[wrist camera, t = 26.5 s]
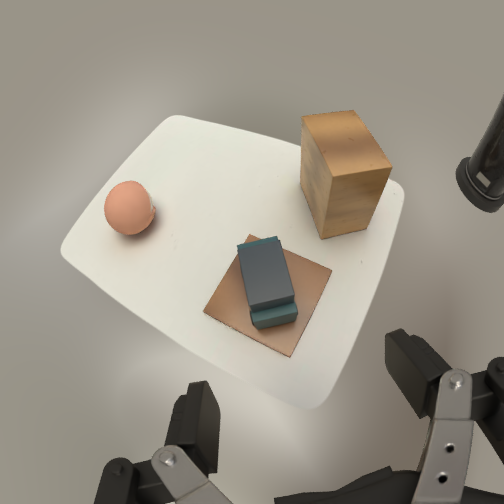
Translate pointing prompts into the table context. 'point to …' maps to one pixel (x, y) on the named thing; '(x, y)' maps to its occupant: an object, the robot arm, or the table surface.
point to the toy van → (267, 283)
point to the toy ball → (129, 208)
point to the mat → (238, 311)
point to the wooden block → (341, 172)
